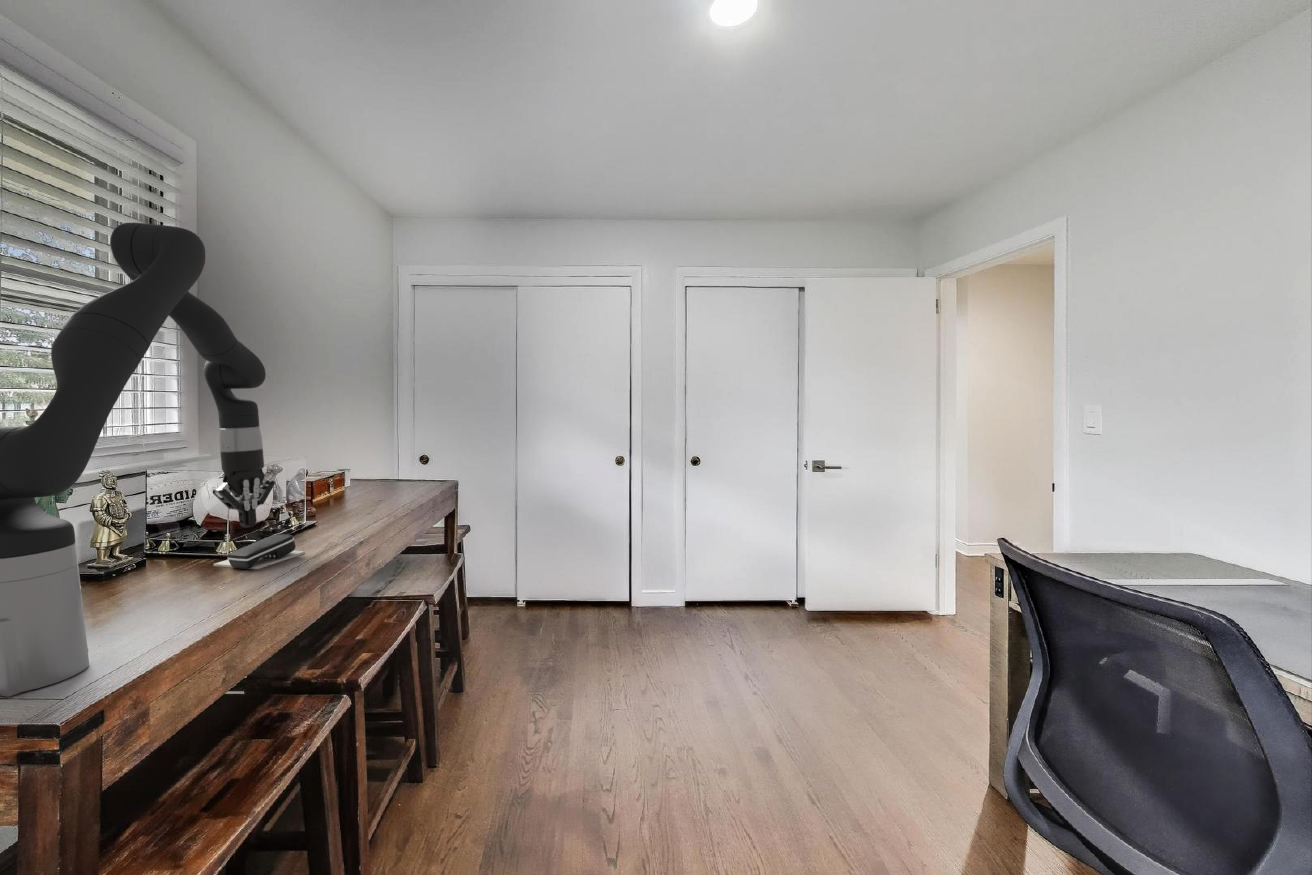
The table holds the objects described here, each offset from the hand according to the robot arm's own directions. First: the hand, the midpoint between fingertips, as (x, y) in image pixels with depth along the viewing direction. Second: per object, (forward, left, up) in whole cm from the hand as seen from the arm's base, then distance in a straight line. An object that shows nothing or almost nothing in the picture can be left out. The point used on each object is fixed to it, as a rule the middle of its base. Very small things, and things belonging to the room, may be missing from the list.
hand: (248, 526), depth 125 cm
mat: (+2, 0, -8) cm, 8 cm away
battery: (-5, -2, -7) cm, 9 cm away
